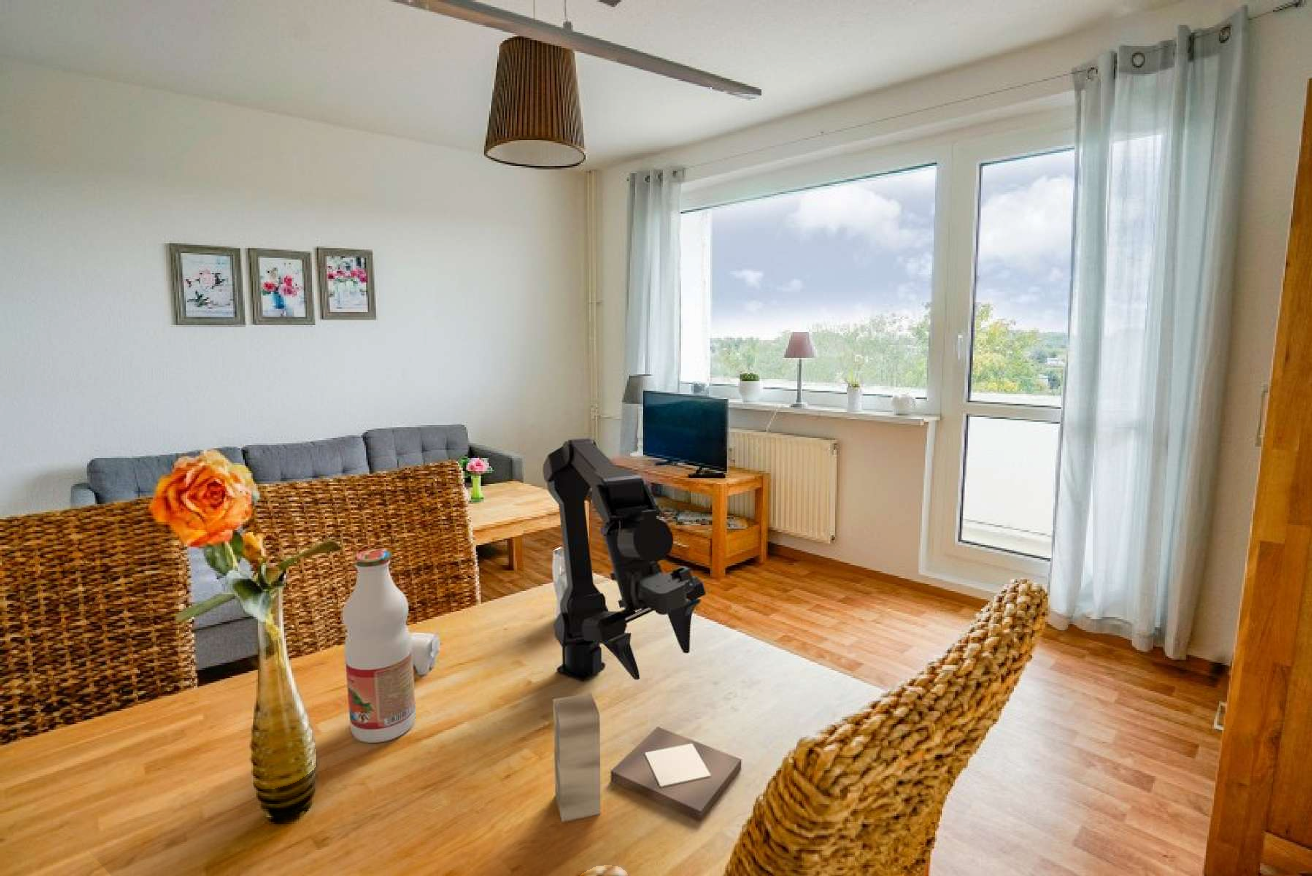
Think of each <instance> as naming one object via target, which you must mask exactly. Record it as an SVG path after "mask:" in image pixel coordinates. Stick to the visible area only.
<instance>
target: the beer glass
mask: <svg viewBox="0 0 1312 876" xmlns="http://www.w3.org/2000/svg"><path fill="white" fill-rule="evenodd" d="M552 581H553V586H554V591H555V595H556V596H555V597H556V603H557V605H556V606H557V607H556V612H555V620H556V619H557V617H558V615H559V614H560V613H561V612H560V601H561V599H562V597H563V595H564V593H565V590H566V588H567V578H566V568H565V559H564V549H563V546H560V547H556V548H555V549H553V551H552Z"/></svg>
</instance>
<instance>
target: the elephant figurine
mask: <svg viewBox="0 0 1312 876" xmlns="http://www.w3.org/2000/svg"><path fill="white" fill-rule="evenodd" d="M410 636H411V643H412V660H413V672H414V670H415V669H416V671H417V674H418V675H419V676H425V675H428V674H429V671H430V669H434V667H435V665H436V662H437V656H438V654H439V653H440V651H441V650H440V646H443V643H442V642H440V638H439V637H440V635H439V632H435V633H423V632H410ZM414 667H415V669H414Z"/></svg>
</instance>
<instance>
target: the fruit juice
mask: <svg viewBox="0 0 1312 876" xmlns="http://www.w3.org/2000/svg"><path fill="white" fill-rule="evenodd" d="M353 561H354V562H353V563H354V568H355V569H356V570H357V575H356V576H357V577H356V582H355V585H354V589H353V591H352V593H351V594H350V595H349V597H348V598H347V600H346V601H345V603H344V605H343V609H342V620H343V625H344V626H345V629H346V631H347V636H346V638H345V641H344V664H345V674H346V675H345V676H346V689H347V698H348V699H347V700H348V709H349V710H348V711H349V713H348V714H349V723H350V724H349V725H350V730H351V733H352V735H353V737H354V738H355V739H357V740H358V741H360V742H363V743H369V744H370V743H372V744H374V743H375V744H376V743H383V742H387V741H391V740H393V739H397V738H399V737H401V736H402V735H404V734H405V733H407V732H408V731H409V730H410V729H411V728H412V727H413V725H414V723H415V721H416V715H417V713H416V710H417V709H416V695H415V680H414V679H415V678H414V671H413V668H414V667H413V660H412V643H411V636H410V633H411V632H410V630H409V629H410V628H408V626H407V619H408V615H409V602H408V600H407V599H408V598H407V597H406V595H405V594H404V593H403V592H402V590H400V589H399V588H398V586H397V585H396V584H395V582H394V581H393V578H392V576H391V573H390V569H389V565H390V563H391V554H390V552H389V550H386V549H381V548H379V549H378V548H377V549H376V548H374V549H367V550H363V551H361V552H358V553H356V554H355V555H354V560H353Z"/></svg>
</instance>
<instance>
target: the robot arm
mask: <svg viewBox="0 0 1312 876" xmlns="http://www.w3.org/2000/svg"><path fill="white" fill-rule="evenodd" d="M542 474H543V475H542V476H543V479H544V481H545V483H546V484H547V491H548V493H549V494H550V496H551V497H552V498H553V499H554V501H555V502H556V503H557V504H558V511H559V519H560V530H561V538H562V547H563V549H564V559H565V568H566V578H567V588H566V590H565V593H564V595H563V597H562V599H561V601H560V612H561V613H560V614H559V615H558V617H557V619H556V618H555V621H554V623H553V631H554V637H555V639H556V641H558V644H559V645H560V646H561V654H562V655H561V657H562V660H561V661H562V664H561V665H559V666H558V667H556V672H557V673H560V674H561V675H562V674H563V675H566V676H568V677H570V678H573V679H576V680H579V681H582V682H585V681H587V680H589V679H590V678H592V677H593V676H594V675H595V674H597V673H598V672H600V671H601V670H602V669H604V668H605V667H606V663H605V662H604V661H602V657H603V656H602V652H603V651H602V647H601V644H602V645H603V646H604V647H606V649H608V650H609V652H610V653H612V654H613V655H614V657H615V658H616V659H617V661H618V662H619V663H620V664H621V665H622V666H623V668H624V669H625V670H626V671H627V673H628V674H629V675H630V676H631V677H632V679H633V680H636V681H638V680H640V678H641V676H640V671H639V668H638V664H637V662H636V658H635V655H634V652H633V649H632V647H631V646H632V645H631V638H632V633H631V632H626V629H627V627H628V623H630V622H632V621H635V620H637V619H639V618H641V617H644V616H645V615H648V614H649V613H651V612H655V613H656V614H658V615H659V616H665V615H667V617H668V620H669V623H670V625H671V627H672V630H673V632H674V635H675V637H676V640H677V643H678V645H679V647H680V649H681V651H682V653H683V654H689V653H690V645H691V627H692V626H691V625H692V623H691V622H692V616H693V612H694V611H695V609H696V607H697V606H698V605H699V604H700V603H701V602H702V601H701V600H702V599H701V597H704V596H705V595H707V591H706V588H705V585H704V582H703V581H702V580H701V579H700V578H699V577H698V576H693V575H692V572H691V570H690V568H689V567H687V566H684V565H681V566H679V567H677V568H675V569H673V570H672V571H671V572H668V573H664V572H663V570H662V568H661V565H660V563H659V562H660V561H663V560H664V559H665V558H667V557H668V556H669V554H670V553H671V551H672V550H673V549H672V548H673V545H674V534H673V532H672V530H671V529H670V527H669V525H668V524H667V523H666V522H665V521H664V520H661V519H660V518H658V517H659V516H660V511H659V504H658V502H657V500H656V499H655V497H654V495H653V494H652V492H651V491H650V489H649V487H648V484H647V483H646V481H645V480H644V478H643V477H642V476H641V474H639V473H637V472H636V471H634V470H632V469H628V468H623V467H622V468H621V467H618V466H616V465H615V464H614V463H613V462H612V461H611V460H610V459H609V457H608V456H606V455H605V454H604V453H603V452H602V450H600V449H599V447H598V446H597V443H596V441H595V440H594V439H591V438H590V437H586V438H574V439H572V438H571V439H567V440H566V441H564V443H562V446H561V447H559V448H557V449H555V450H553V451H552V452H551V453H549V454H548V455H547V457H546V459H545V461H544V462H543V465H542ZM590 491H591V502H592V505H593V508H594V509H595V510H596V512H597V514H598V515H599V517H600V518H601V520H602V521H603V523H602V524H601V526H600V531H599V532H600V535H603V540H604V542H605V546H606V550H607V553H608V557H609V559H610V563H611V567H612V570H613V571H612V572H610V573H609V575H610V579H611V581H616V584H617V587H618V591H619V593H620V596H621V599H619V600H617V603H618V606H619V608H623V609H622V610H619V611H613V610H612V611H611V610H610V611H609V609H608V606H607V604H606V597H605V595H604V593H602V592H600V590H599V589H598V587H597V586H596V585H595V583H594V576H593V567H592V559H591V558H592V557H591V548H590V538H589V531H588V530H589V529H588V521H587V512H586V499H587V497H588V495H589V493H590Z"/></svg>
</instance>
